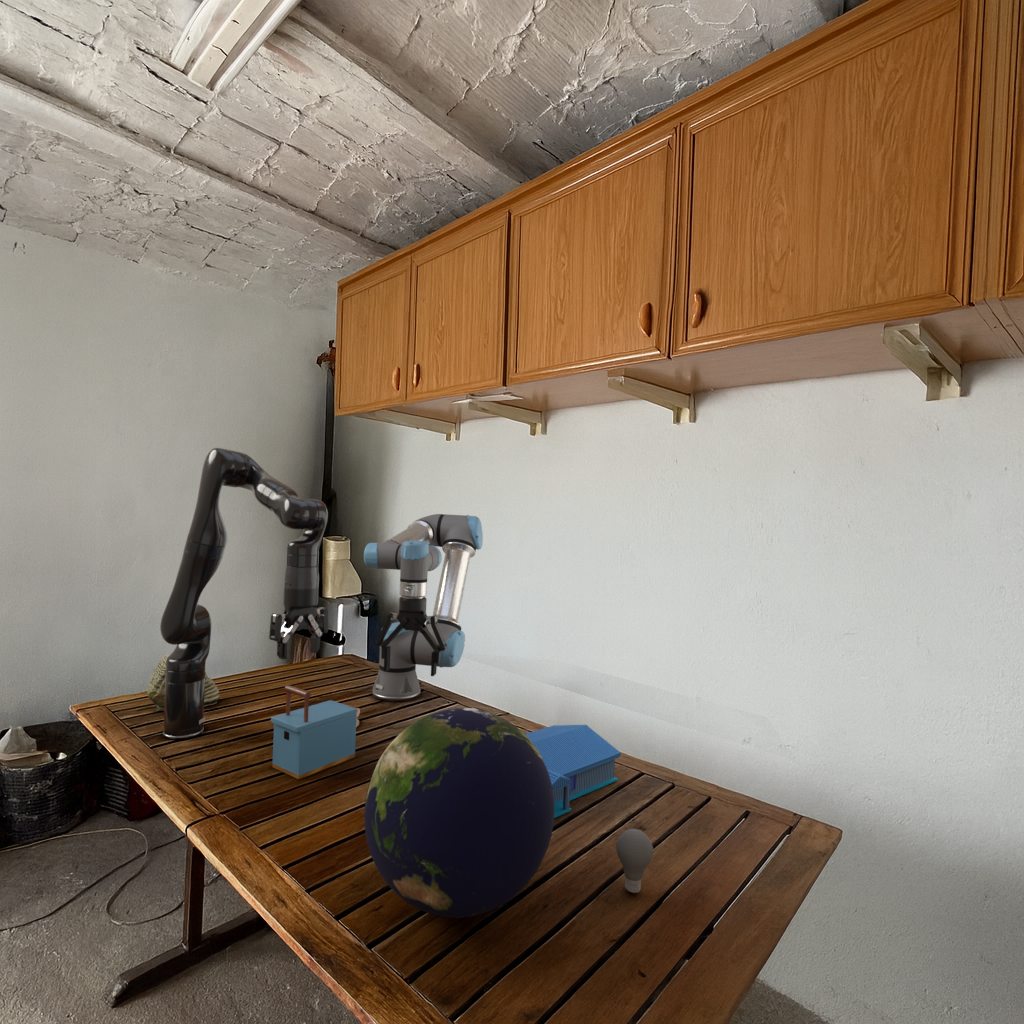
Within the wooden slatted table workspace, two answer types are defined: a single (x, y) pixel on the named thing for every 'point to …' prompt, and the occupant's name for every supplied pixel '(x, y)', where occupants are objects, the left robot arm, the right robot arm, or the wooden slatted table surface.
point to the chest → (314, 747)
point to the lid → (310, 712)
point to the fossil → (158, 687)
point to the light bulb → (634, 857)
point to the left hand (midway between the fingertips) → (298, 655)
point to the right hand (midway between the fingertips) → (410, 672)
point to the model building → (574, 761)
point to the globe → (459, 812)
